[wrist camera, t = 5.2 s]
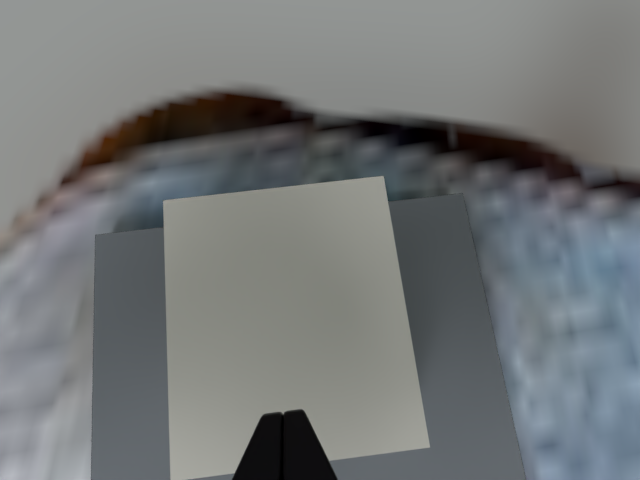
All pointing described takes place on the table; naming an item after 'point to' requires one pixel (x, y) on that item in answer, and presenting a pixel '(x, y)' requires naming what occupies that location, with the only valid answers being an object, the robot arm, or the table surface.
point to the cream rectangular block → (287, 323)
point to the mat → (426, 333)
